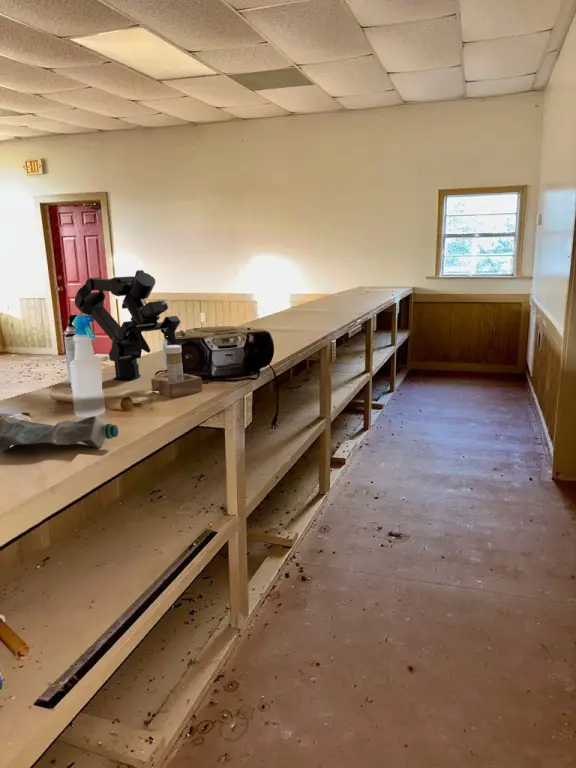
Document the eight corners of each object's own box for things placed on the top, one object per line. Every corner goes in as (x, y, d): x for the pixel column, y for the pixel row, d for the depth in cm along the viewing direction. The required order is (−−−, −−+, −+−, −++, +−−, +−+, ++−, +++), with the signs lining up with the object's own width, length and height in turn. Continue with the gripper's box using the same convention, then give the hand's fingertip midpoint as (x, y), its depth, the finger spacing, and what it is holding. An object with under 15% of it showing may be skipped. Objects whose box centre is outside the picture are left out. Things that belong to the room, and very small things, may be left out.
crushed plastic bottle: (-17, 458, 111) (104, 457, 109) (-21, 423, 110) (101, 421, 108) (20, 441, 124) (128, 440, 122) (17, 410, 123) (126, 408, 121)
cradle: (152, 392, 161) (151, 378, 160) (181, 385, 168) (180, 372, 167) (172, 398, 154) (171, 384, 153) (202, 390, 161) (201, 377, 161)
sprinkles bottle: (179, 388, 165) (176, 343, 161) (187, 391, 161) (184, 345, 158) (165, 391, 162) (162, 345, 159) (172, 394, 158) (169, 347, 155)
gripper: (119, 293, 155) (144, 335, 151) (174, 289, 169) (199, 328, 164) (107, 319, 162) (131, 360, 158) (161, 313, 176) (185, 351, 171)
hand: (163, 349), depth 162 cm, fingers open, 9 cm apart
